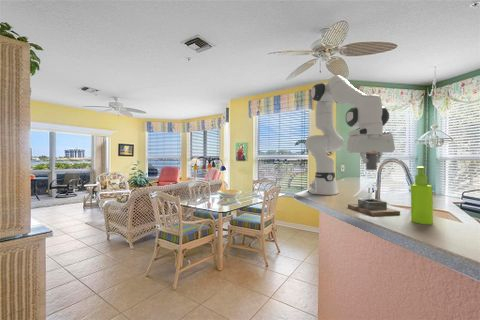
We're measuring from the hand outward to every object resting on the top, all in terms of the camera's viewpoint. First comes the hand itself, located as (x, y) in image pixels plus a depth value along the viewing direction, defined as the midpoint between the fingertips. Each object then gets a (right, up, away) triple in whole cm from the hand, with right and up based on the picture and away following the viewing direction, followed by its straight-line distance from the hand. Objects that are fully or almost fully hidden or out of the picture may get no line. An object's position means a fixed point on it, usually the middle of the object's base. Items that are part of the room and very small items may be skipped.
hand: (371, 163), depth 93 cm
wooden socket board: (0, -21, 0) cm, 21 cm away
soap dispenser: (+7, -21, -17) cm, 28 cm away
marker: (0, -3, 0) cm, 3 cm away
